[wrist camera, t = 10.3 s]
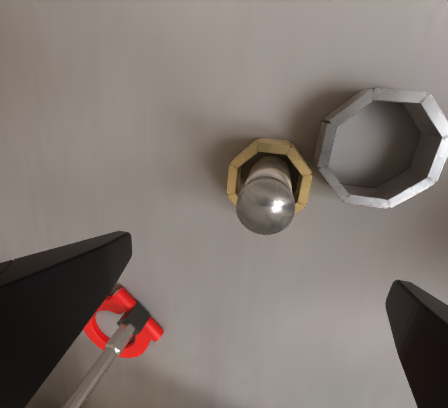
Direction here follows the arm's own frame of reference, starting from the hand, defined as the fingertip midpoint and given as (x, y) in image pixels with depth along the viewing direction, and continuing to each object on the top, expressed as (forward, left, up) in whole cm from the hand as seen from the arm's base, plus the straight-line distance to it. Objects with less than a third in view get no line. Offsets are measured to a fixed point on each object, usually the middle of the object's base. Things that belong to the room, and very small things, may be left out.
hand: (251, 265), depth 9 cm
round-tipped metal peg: (0, 0, -12) cm, 12 cm away
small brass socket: (0, 0, -12) cm, 12 cm away
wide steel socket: (-7, -3, -12) cm, 14 cm away
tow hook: (+14, +19, -13) cm, 27 cm away
